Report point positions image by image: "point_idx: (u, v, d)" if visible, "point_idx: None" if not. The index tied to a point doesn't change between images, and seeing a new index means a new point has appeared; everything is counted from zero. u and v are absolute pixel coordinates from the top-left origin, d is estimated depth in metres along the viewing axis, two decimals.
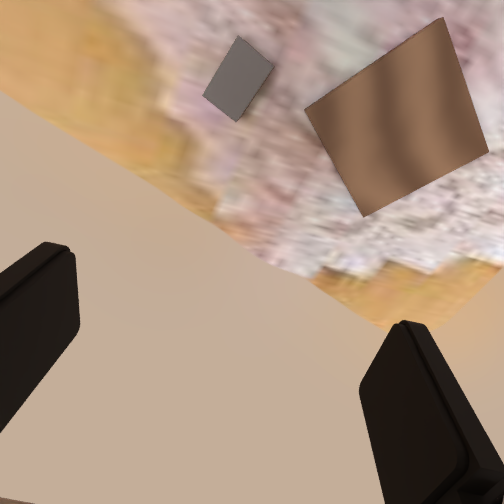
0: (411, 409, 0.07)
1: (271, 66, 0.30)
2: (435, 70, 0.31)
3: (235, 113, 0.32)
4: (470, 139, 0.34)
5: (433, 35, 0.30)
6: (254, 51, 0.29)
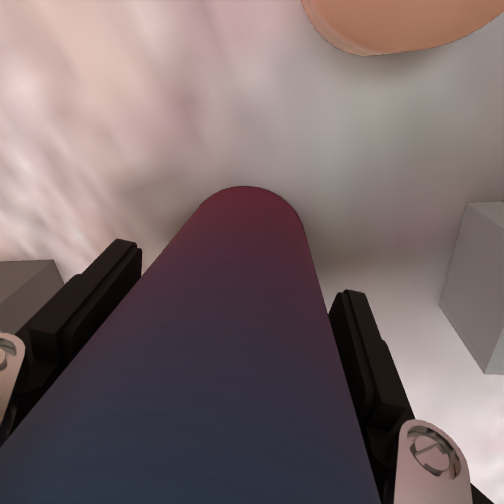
0: (342, 365, 0.08)
1: None
2: None
3: None
4: None
5: None
6: None
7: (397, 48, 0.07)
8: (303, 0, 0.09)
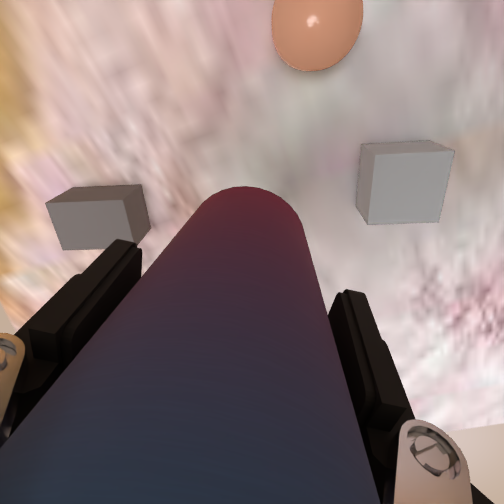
0: None
1: None
2: None
3: (67, 244, 0.26)
4: None
5: None
6: (127, 223, 0.25)
7: (308, 70, 0.19)
8: (275, 47, 0.22)
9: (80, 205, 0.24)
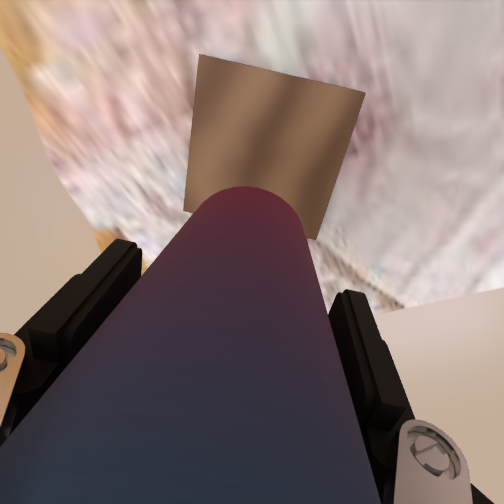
0: (342, 365, 0.08)
1: None
2: (328, 133, 0.29)
3: None
4: (310, 218, 0.33)
5: (348, 101, 0.27)
6: None
7: None
8: None
9: None
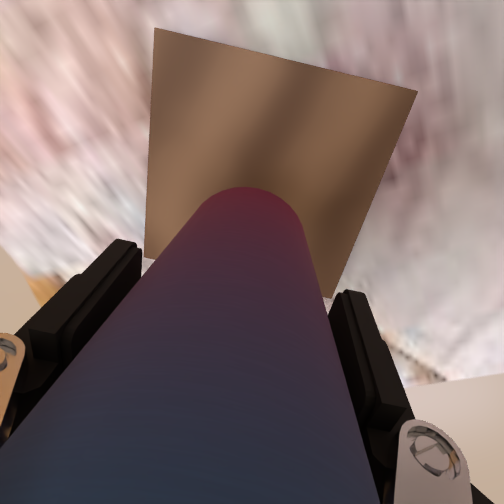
0: (342, 365, 0.08)
1: None
2: (356, 152, 0.19)
3: None
4: (325, 270, 0.23)
5: (389, 103, 0.17)
6: None
7: None
8: None
9: None
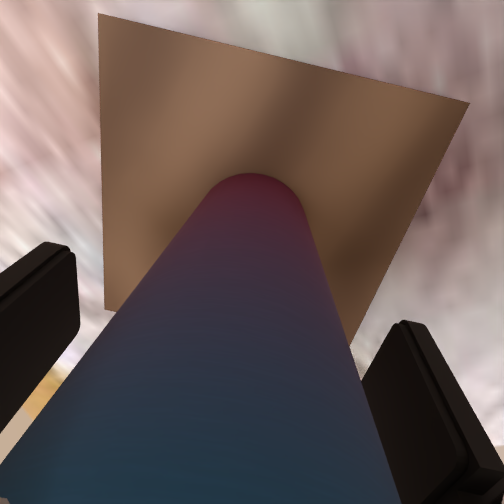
0: (411, 409, 0.07)
1: None
2: (379, 184, 0.14)
3: None
4: None
5: (428, 120, 0.13)
6: None
7: None
8: None
9: None
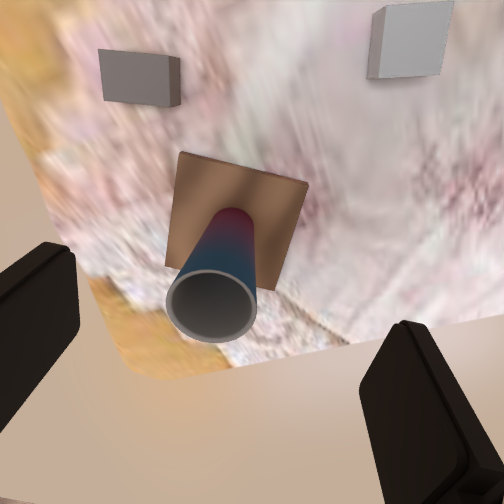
0: (411, 409, 0.07)
1: (168, 105, 0.29)
2: (281, 213, 0.36)
3: (109, 95, 0.29)
4: (269, 274, 0.40)
5: (295, 190, 0.35)
6: (167, 81, 0.28)
7: None
8: None
9: (129, 56, 0.28)
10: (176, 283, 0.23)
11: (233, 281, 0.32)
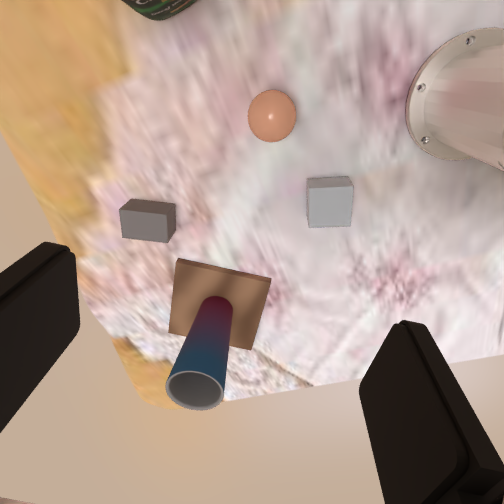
0: (411, 409, 0.07)
1: (166, 241, 0.43)
2: (252, 299, 0.49)
3: (126, 234, 0.43)
4: (246, 339, 0.53)
5: (261, 286, 0.48)
6: (166, 228, 0.42)
7: None
8: None
9: (140, 214, 0.41)
10: (171, 377, 0.37)
11: None
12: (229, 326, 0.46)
